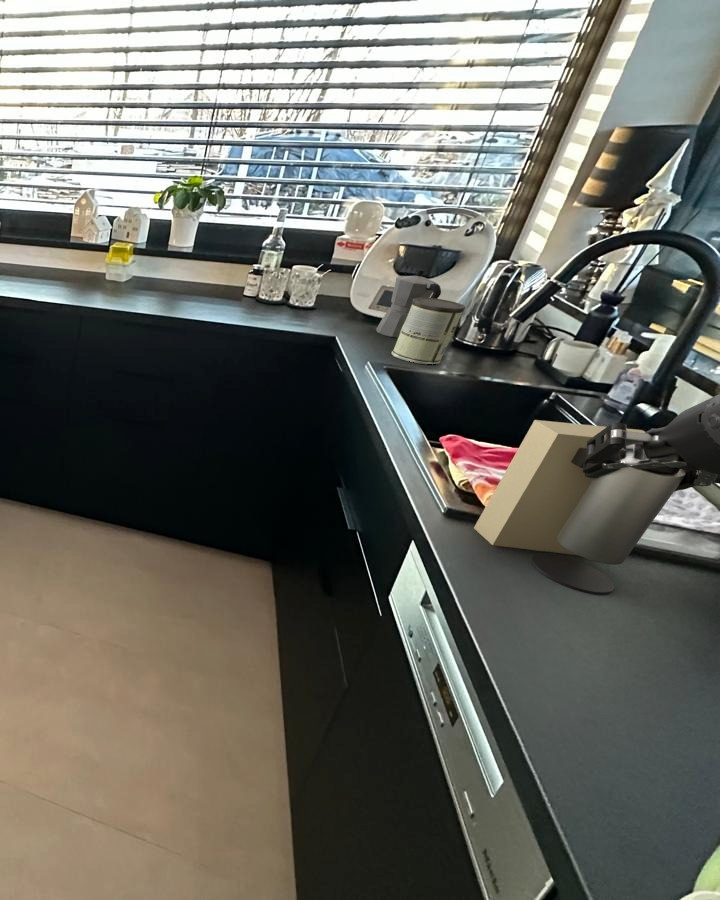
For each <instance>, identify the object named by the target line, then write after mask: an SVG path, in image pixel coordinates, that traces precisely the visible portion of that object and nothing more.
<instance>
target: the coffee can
mask: <svg viewBox="0 0 720 900" xmlns="http://www.w3.org/2000/svg"><path fill="white" fill-rule="evenodd" d="M465 310H466V306H465V305H464V304H461V303H459V302H455V301H452V300H447V299H443V298H442V299H441V298H437V299H436V298H431V297H430V298H424V297H420V298H414V299H413V301H412V305H411V307H410V310H409V312H408V315H407V317H406V319H405V322H404V324H403V327H402V329H401V332H400V334H399V336H398V338H396V341H395V344H394V347H393V349H392V351H391V355H392V356H393V357H395V358H396V359H400V360H402V361H405V362H409V361H410V363H413V362H414V364H418V365H419V364H420V365H427V364H432V365H431V366H434V365H433V364H436V365H439V364H440V363H441V360H442V358H443V356H444V353H445V352H446V350H447V347H448V345H449V343H450V341H451V338H452V336H453V334H454V332H455V330H456V328H457V325H458V323H459V321H460V319H461V316H462V314H463V313H464V311H465Z"/></svg>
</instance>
